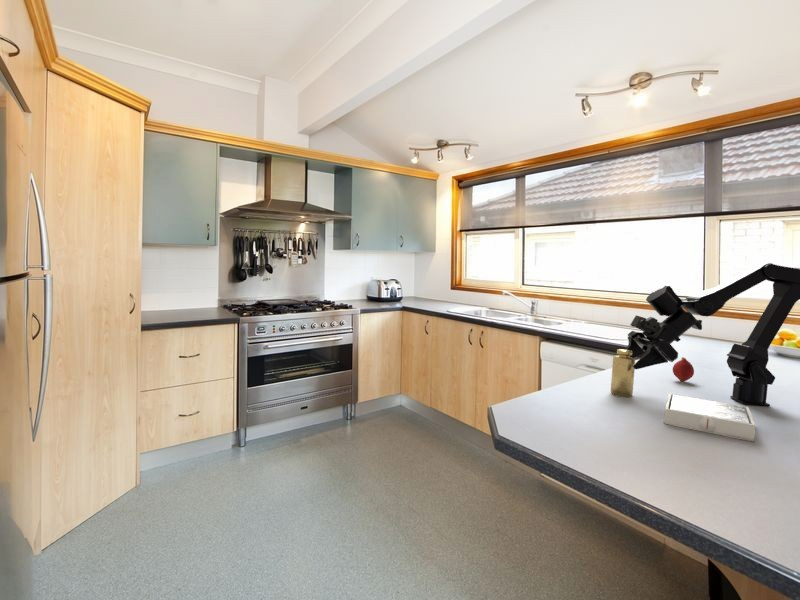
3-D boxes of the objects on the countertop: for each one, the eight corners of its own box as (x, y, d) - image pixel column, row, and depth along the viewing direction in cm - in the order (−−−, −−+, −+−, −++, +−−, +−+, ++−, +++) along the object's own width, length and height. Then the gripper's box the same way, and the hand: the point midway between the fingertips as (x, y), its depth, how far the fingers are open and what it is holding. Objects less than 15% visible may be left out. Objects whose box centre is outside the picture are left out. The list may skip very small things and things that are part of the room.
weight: (628, 392, 124) (631, 349, 123) (635, 397, 119) (639, 353, 118) (607, 390, 125) (610, 348, 124) (614, 396, 120) (617, 351, 119)
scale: (668, 406, 111) (669, 393, 111) (746, 421, 102) (748, 406, 102) (663, 424, 98) (665, 409, 98) (754, 442, 89) (755, 426, 89)
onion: (686, 380, 142) (688, 356, 142) (697, 384, 136) (699, 359, 136) (668, 378, 143) (670, 355, 142) (677, 383, 137) (679, 358, 136)
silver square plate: (672, 398, 110) (673, 394, 110) (743, 410, 102) (743, 406, 102) (669, 411, 98) (670, 408, 98) (749, 426, 90) (749, 423, 90)
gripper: (637, 304, 129) (596, 338, 131) (669, 309, 110) (621, 349, 112) (662, 331, 129) (620, 365, 130) (699, 341, 110) (650, 381, 112)
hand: (627, 364), depth 121 cm, fingers open, 9 cm apart
